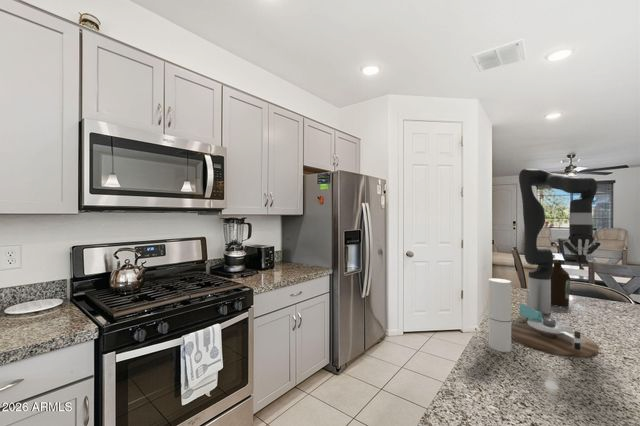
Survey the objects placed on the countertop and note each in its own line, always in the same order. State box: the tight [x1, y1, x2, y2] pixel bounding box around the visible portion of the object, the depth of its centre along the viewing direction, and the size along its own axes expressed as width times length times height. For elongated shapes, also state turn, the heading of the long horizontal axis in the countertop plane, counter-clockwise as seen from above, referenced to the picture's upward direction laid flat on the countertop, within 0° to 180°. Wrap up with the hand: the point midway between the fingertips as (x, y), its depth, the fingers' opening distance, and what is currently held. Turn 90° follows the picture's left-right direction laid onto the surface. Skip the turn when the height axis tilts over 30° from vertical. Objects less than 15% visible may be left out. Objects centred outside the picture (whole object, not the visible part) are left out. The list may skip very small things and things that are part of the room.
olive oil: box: [551, 259, 571, 307], centre depth 160 cm, size 11×11×25 cm
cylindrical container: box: [488, 277, 512, 353], centre depth 107 cm, size 7×7×25 cm
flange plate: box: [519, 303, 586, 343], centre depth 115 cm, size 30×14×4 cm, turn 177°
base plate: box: [511, 322, 599, 358], centre depth 113 cm, size 28×28×8 cm
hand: (581, 263), depth 123 cm, fingers closed
